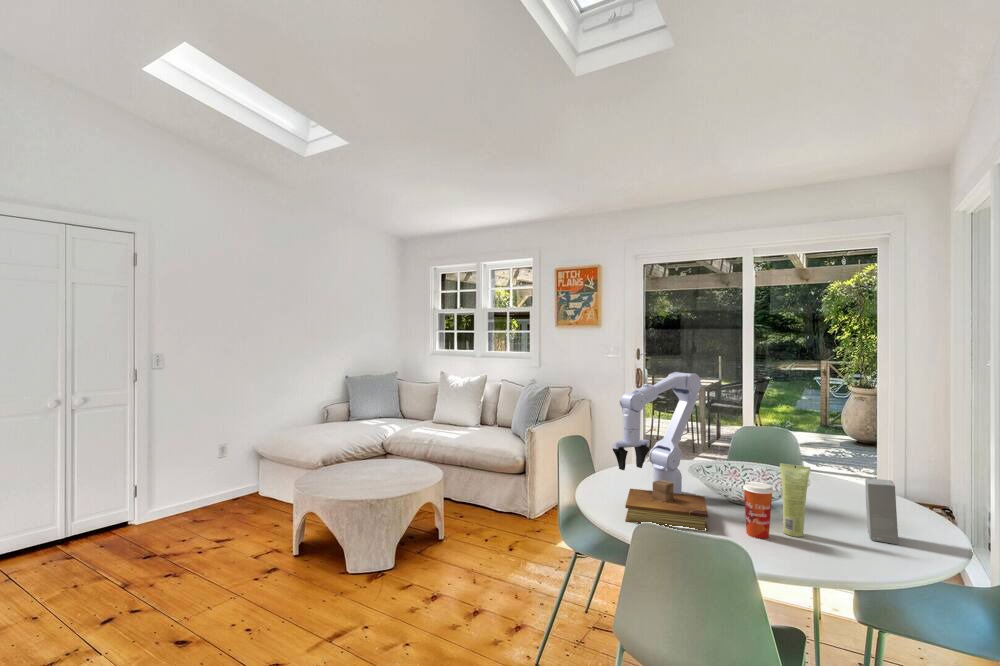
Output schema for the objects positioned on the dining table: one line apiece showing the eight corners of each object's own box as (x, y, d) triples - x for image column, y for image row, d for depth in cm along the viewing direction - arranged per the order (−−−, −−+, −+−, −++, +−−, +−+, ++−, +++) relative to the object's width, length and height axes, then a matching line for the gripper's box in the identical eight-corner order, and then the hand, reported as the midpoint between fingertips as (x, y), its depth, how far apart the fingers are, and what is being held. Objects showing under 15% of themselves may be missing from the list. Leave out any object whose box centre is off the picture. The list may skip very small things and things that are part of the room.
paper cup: (741, 536, 143) (742, 486, 143) (743, 528, 150) (743, 479, 150) (773, 542, 139) (774, 490, 140) (773, 533, 146) (773, 483, 146)
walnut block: (660, 495, 164) (660, 479, 164) (673, 498, 160) (673, 482, 160) (652, 498, 161) (652, 482, 161) (665, 501, 157) (665, 485, 157)
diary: (703, 513, 164) (704, 495, 164) (707, 534, 147) (708, 514, 147) (629, 504, 172) (630, 487, 172) (624, 523, 154) (625, 504, 154)
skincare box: (898, 545, 138) (899, 486, 139) (866, 540, 142) (866, 482, 142) (895, 535, 146) (895, 479, 146) (864, 530, 149) (864, 475, 149)
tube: (795, 530, 149) (796, 462, 149) (809, 536, 144) (810, 466, 144) (778, 531, 148) (779, 463, 148) (792, 538, 143) (793, 467, 143)
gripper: (639, 425, 182) (639, 463, 182) (607, 427, 176) (606, 467, 176) (654, 428, 176) (653, 468, 176) (620, 431, 170) (619, 472, 169)
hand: (630, 468), depth 175 cm, fingers open, 7 cm apart
